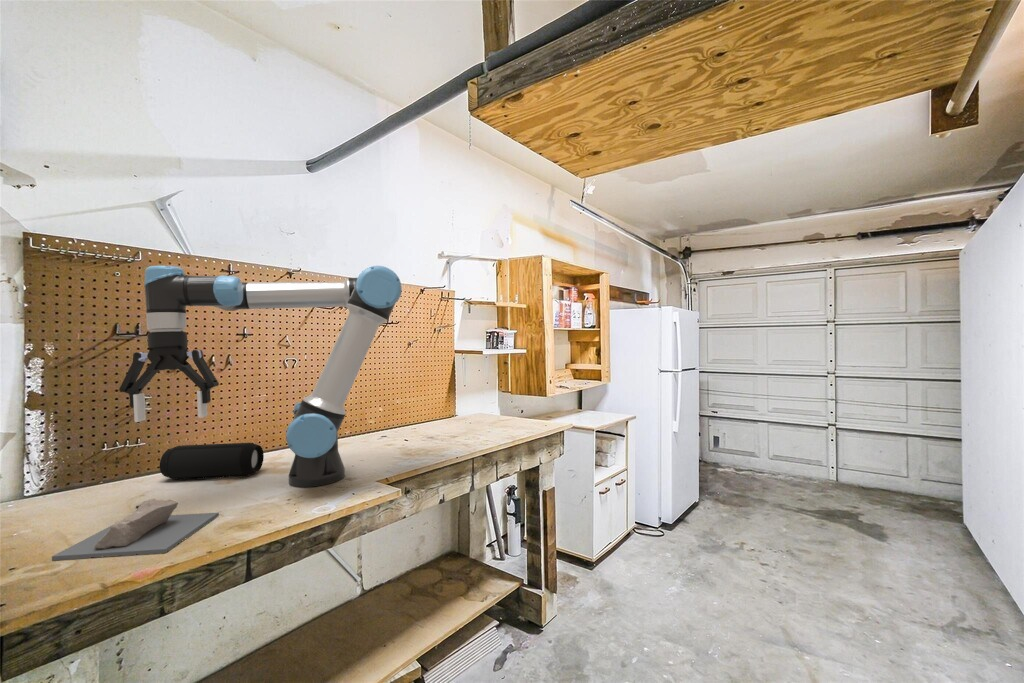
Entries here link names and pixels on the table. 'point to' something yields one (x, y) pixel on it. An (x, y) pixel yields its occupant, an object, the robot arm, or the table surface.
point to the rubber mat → (141, 539)
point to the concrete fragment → (138, 523)
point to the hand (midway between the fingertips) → (171, 419)
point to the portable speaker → (211, 461)
